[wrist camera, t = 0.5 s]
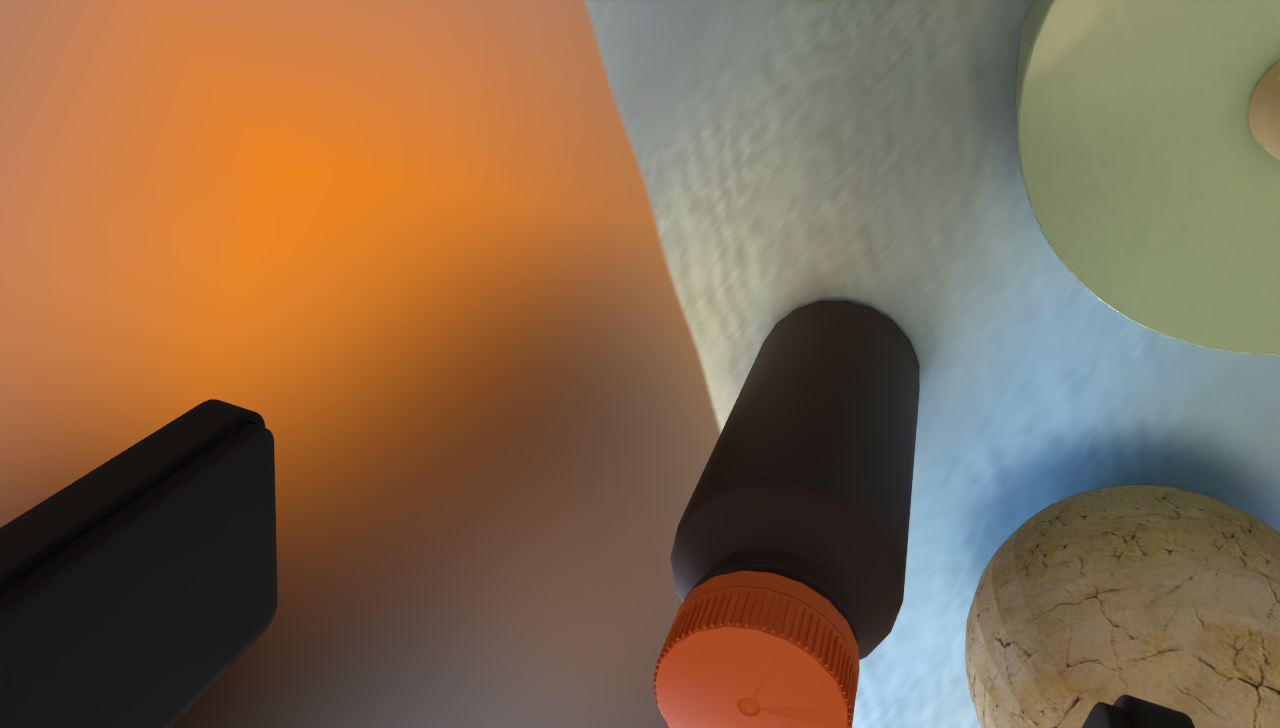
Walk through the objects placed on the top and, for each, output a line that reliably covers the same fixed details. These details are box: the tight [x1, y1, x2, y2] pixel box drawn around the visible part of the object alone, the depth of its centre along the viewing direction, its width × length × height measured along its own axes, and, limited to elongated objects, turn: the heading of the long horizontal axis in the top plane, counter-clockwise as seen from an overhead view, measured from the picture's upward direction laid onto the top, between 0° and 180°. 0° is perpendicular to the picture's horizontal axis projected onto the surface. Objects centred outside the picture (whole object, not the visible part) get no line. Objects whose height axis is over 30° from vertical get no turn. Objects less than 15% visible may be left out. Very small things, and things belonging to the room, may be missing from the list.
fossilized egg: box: [965, 485, 1280, 728], centre depth 33 cm, size 13×13×15 cm
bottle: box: [653, 301, 919, 728], centre depth 31 cm, size 7×7×20 cm
